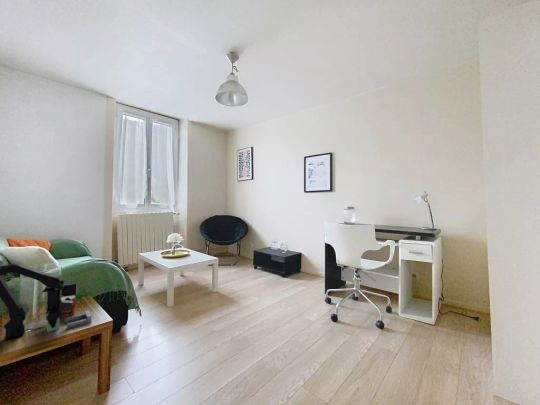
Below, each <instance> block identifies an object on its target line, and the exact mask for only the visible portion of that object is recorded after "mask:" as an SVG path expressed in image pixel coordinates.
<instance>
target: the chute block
mask: <svg viewBox="0 0 540 405" xmlns="http://www.w3.org/2000/svg"><path fill="white" fill-rule="evenodd" d="M60 319H61V318H58V319H57V322H56V325H55V327H54V328H52V327H51V325H50V324H49V322H48V321H47V320H46V332H52V331H55V330H59V329H60V321H61V320H60Z"/></svg>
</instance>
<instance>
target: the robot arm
mask: <svg viewBox="0 0 540 405" xmlns="http://www.w3.org/2000/svg"><path fill="white" fill-rule="evenodd" d="M10 273H15V274H19V275H21V276H24V277H26V278H30V279H32V280H36V281H38V282H40V283H41V284H42V285H44V286H45V288H44V289H43V290H42V291H41V292H42V293H46V305H45V314H46V315H45V316H46V318H45V319H46V322H47V321H48V322H49V324H50V325H51V327H52V328H54V327H55V325H56V322H57V319H58V318H60V317H62V311H60V309H61V308H71V307H72V305H73V301H72V300H70V298H66V299H65V300H61V298H62V297H66V296H72V295H74V296H77V295H78V290H79V288H78V284H77V282H73V283H68V284H67V283H66V282H65V281H64V280H63V279H62V276H61V275H60V274H56V273H49V272H44V271H41V270H38V269H34V268H32V267H29V266H26V265H23V264H21V263H19V262H14V263H10V264H6V265H1V266H0V300H1V301H2V303H3V304H4V306H5V307H6V308H7V311H8V312H7V313H8V317H9V319H8V321H7V322H6V323H5V324H3V328H4V330H5V337H4V342H6V341H10V340H13V339H17V338H22V337H24V335H25V333H26V332H25V331H26V324H25V323H24V321H25V320H26V319H27V317H28V316H29V314H30V310H31V307H29V306H28V304H27V303H26V302H25V303H24V304H23V303H20V302H19V300H18V299H17V297H16V296H15V294H14V293H13V291H12V290H11V288H10V287H9V285H8V284H7V282H6V281H5V275H7V274H10ZM61 296H62V297H61ZM60 319H61V318H60Z"/></svg>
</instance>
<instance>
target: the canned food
mask: <svg viewBox="0 0 540 405" xmlns="http://www.w3.org/2000/svg"><path fill="white" fill-rule="evenodd" d="M66 298H70V300H72V301H73V305H72V307H71V308H61V309H60V311H62V317H60V319H66V318H69V317H73V316H74V315H75V314H76V295H72V296H66V297H64V296H62V297H61V300H65V299H66Z"/></svg>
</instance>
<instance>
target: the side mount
mask: <svg viewBox="0 0 540 405" xmlns="http://www.w3.org/2000/svg"><path fill="white" fill-rule="evenodd" d="M90 323H92V314H91V312H90V310H89V309H87V310H85V311H84V313H81V314H78V315H75V316H74V315H72V316H70V317H66V318H65V324H66V330H68V329H72V328H75V327H79V326H84V325H87V324H90Z"/></svg>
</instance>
